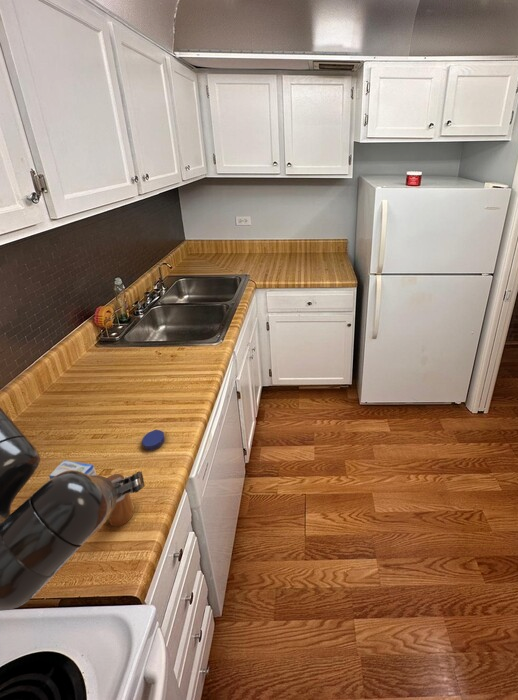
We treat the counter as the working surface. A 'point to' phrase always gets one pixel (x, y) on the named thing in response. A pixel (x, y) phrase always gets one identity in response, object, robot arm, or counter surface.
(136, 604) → the counter surface
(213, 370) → the counter surface
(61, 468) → the medicine box
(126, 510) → the jar
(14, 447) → the robot arm
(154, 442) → the jar lid
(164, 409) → the counter surface
